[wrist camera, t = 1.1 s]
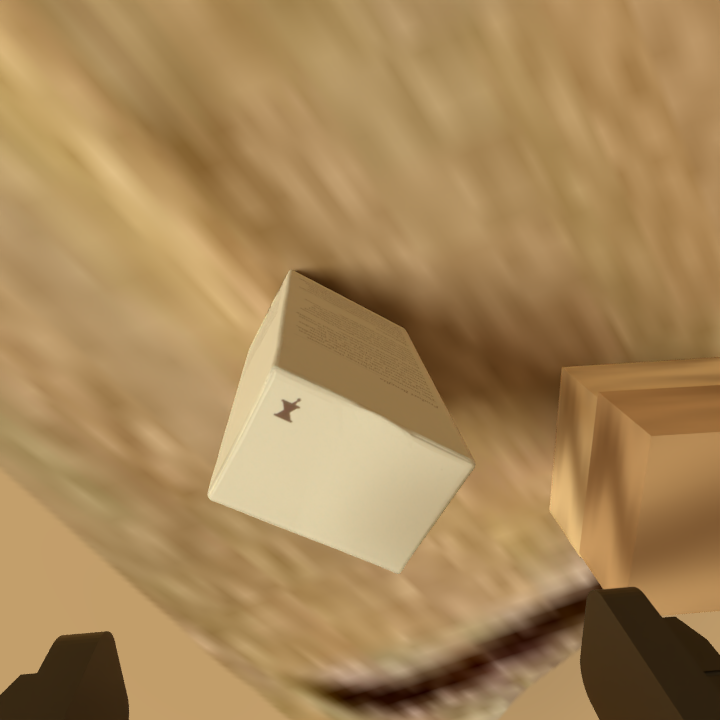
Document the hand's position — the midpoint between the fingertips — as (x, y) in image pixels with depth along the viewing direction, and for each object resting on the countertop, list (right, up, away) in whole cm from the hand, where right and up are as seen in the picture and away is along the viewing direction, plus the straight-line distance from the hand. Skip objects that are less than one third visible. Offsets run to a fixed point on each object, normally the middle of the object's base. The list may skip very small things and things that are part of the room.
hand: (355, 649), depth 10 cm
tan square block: (+14, 0, +16) cm, 21 cm away
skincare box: (-1, +6, +16) cm, 18 cm away
